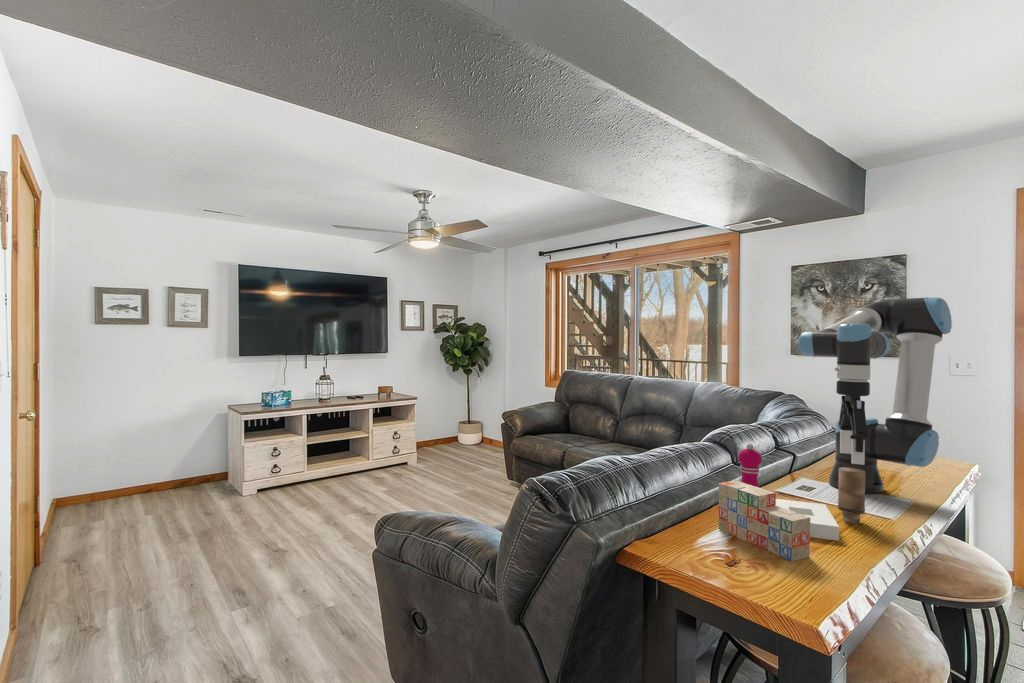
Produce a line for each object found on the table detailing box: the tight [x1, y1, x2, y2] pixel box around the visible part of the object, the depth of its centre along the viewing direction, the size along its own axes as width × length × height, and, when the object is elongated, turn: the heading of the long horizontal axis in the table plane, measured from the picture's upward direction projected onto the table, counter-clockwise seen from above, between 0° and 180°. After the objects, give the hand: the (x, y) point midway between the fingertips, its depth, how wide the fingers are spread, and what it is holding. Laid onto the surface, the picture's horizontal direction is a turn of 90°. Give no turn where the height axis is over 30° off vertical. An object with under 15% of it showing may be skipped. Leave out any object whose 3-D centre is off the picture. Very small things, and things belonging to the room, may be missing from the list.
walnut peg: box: [837, 467, 866, 525], centre depth 138 cm, size 6×6×14 cm
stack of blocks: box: [718, 480, 811, 562], centre depth 124 cm, size 21×6×12 cm, turn 23°
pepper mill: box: [737, 443, 762, 488], centre depth 143 cm, size 7×7×20 cm
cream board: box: [775, 498, 840, 542], centre depth 136 cm, size 14×18×4 cm
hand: (851, 458), depth 138 cm, fingers open, 13 cm apart
